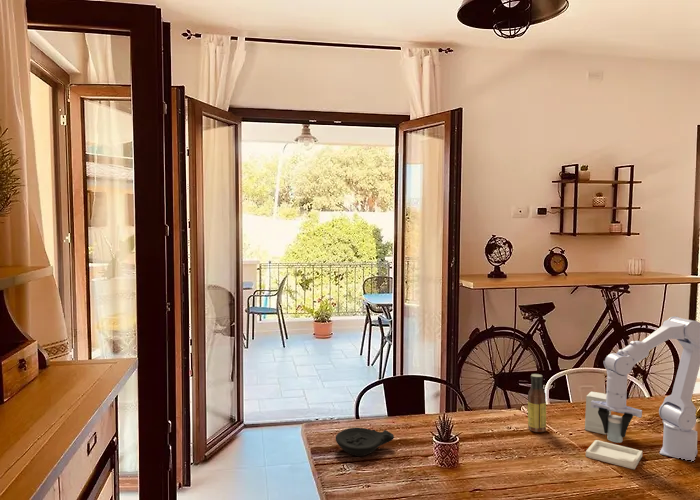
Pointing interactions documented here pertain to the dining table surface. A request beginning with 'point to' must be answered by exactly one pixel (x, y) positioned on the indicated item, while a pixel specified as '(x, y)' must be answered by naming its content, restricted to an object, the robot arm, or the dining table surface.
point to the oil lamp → (362, 440)
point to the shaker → (614, 428)
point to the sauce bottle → (536, 405)
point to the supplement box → (594, 413)
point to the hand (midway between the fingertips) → (614, 434)
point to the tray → (614, 454)
